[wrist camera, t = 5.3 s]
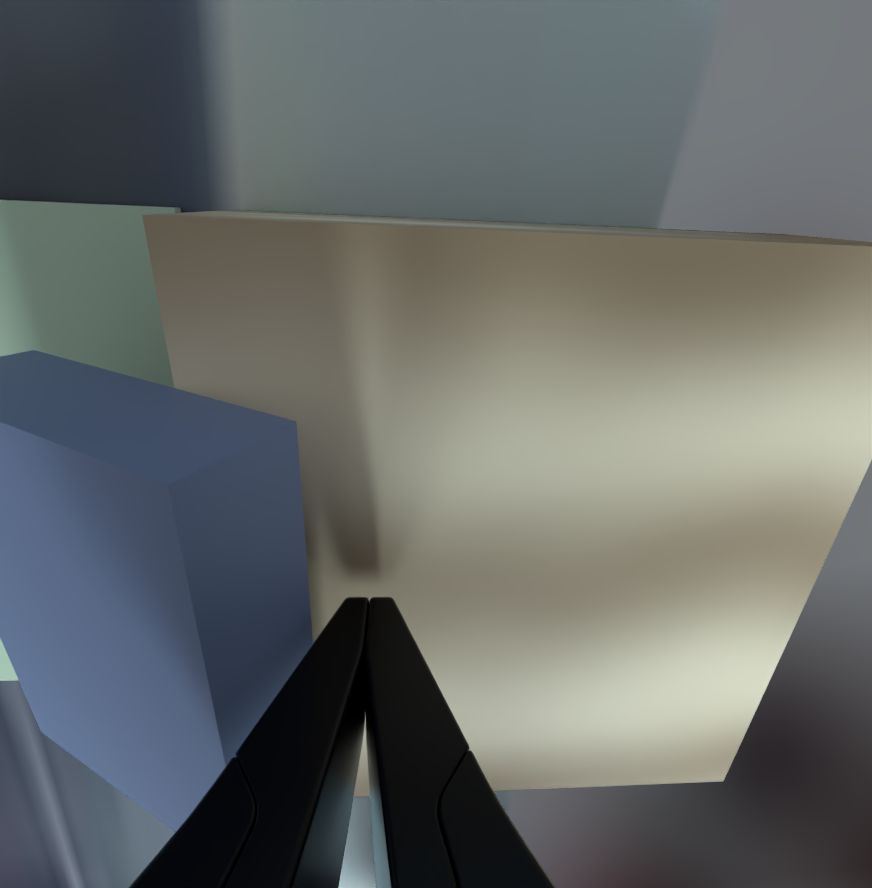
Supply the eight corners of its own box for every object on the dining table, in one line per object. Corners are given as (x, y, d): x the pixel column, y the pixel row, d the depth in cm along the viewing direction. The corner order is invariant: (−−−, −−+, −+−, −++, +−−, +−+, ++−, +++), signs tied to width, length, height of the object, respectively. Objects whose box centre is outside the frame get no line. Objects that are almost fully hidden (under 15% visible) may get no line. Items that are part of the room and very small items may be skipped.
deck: (654, 657, 17) (723, 781, 13) (285, 665, 16) (252, 801, 12) (786, 234, 11) (968, 250, 8) (231, 209, 10) (142, 214, 7)
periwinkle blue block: (323, 782, 10) (251, 887, 9) (127, 665, 13) (41, 731, 11) (296, 421, 7) (167, 485, 5) (34, 349, 9) (-113, 379, 8)
